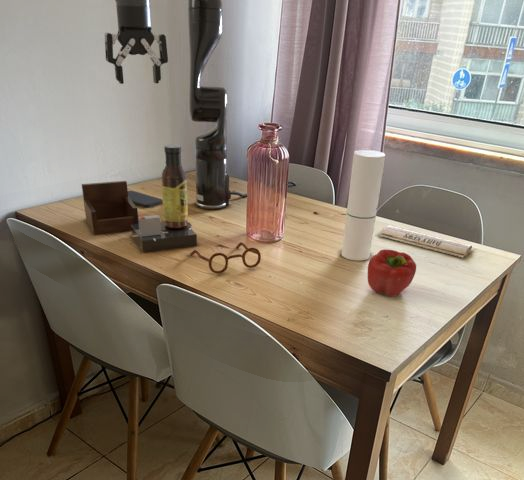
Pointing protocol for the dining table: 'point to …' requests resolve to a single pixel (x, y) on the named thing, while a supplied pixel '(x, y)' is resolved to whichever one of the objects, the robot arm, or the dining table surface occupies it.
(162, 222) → the burner ring
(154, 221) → the knob
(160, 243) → the hob
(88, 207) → the spice rack
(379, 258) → the vegetable
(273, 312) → the dining table surface
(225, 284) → the dining table surface
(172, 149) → the sauce bottle
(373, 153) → the cylindrical container
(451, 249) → the newspaper
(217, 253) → the glasses
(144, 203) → the phone
